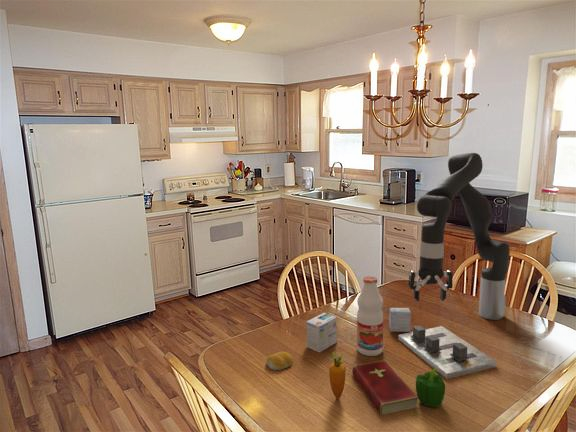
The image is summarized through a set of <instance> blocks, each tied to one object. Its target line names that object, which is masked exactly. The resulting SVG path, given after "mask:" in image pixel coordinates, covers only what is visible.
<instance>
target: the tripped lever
mask: <svg viewBox="0 0 576 432" xmlns="http://www.w3.org/2000/svg"><path fill="white" fill-rule="evenodd" d="M450 356H452V357H453V358H455V359H456V360H457V361H461V360H466V359H469V357H468V356H467V347H466V346H465V345H463V344H462V343H456V344H453V353H452V354H450Z"/></svg>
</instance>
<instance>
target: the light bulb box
mask: <svg viewBox="0 0 576 432" xmlns="http://www.w3.org/2000/svg"><path fill="white" fill-rule="evenodd" d="M305 323H306V347H307V348H308V349H311V350H312V351H315V352H316V353H321V352H323V351H325V350H326V349H328V348H330V347H331V346H333V345H335V344H336V343H337V342H338V333H337V332H338V325H337V316H335V315H332V314H329V313H327V312H322V313H321V314H318V315H316V316H315V317H312V318H311V319H310V318H309V319H308V320H306V321H305Z"/></svg>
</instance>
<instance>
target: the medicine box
mask: <svg viewBox="0 0 576 432" xmlns="http://www.w3.org/2000/svg"><path fill="white" fill-rule="evenodd" d="M388 312H389V314H388V315H389V316H388V319H389V320H388V324H389V325H388V327H389V331H390V332H391V333H392V332H393V333H401V332H402V333H404V332H405V333H410V332H411V319H412V315H411V314H412V312H411V310H410V308H409V307H389V311H388Z"/></svg>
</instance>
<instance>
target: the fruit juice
mask: <svg viewBox="0 0 576 432" xmlns="http://www.w3.org/2000/svg"><path fill="white" fill-rule="evenodd" d="M362 281H363V286H362V289H361V292H360V294H359V295H358V297H357V307H358V310H357V313H356V348H357V351H358V353H360V354H362V355H364V356H367V357H375V356H379V355H381V354H382V352H383V350H384V312H383V309H382V308H383V306H384V298H383V297H382V296H381V293H380V291H379V287H378V286H377V284H378V278H377V277H375V276H372V275H371V276H369V275H368V276H364V277H363V279H362Z"/></svg>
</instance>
